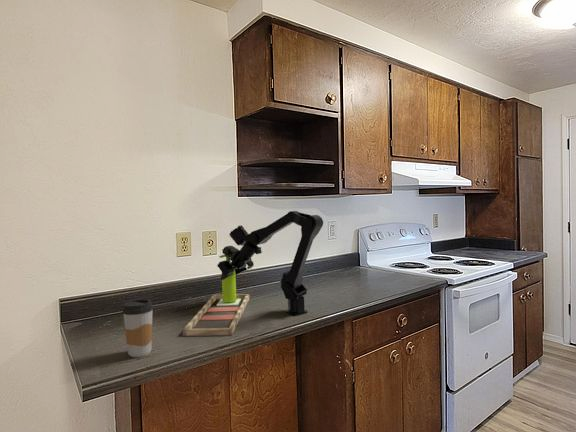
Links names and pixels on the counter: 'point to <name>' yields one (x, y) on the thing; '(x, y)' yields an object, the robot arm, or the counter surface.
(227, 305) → the pad
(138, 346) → the coffee cup
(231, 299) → the soap dispenser
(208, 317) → the mats
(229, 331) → the frame
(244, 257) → the robot arm
